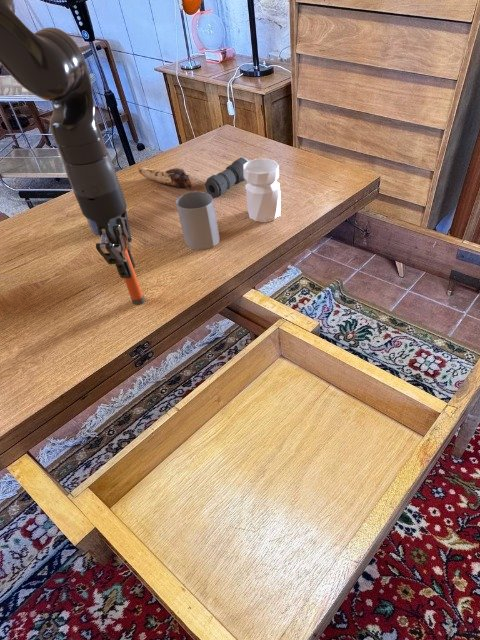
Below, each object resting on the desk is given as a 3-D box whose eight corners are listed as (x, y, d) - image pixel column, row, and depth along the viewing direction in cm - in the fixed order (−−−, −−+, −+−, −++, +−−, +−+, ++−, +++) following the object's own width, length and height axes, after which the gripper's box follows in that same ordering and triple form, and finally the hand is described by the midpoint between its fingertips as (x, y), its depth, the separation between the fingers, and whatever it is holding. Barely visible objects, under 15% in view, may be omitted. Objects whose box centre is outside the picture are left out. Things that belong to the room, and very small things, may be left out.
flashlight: (220, 201, 120) (216, 181, 116) (205, 196, 122) (201, 176, 118) (253, 178, 128) (251, 159, 124) (238, 174, 130) (236, 155, 126)
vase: (279, 222, 112) (277, 174, 103) (246, 222, 113) (240, 173, 103) (282, 205, 118) (280, 158, 109) (250, 205, 118) (245, 158, 109)
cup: (182, 235, 109) (172, 195, 101) (214, 228, 111) (207, 188, 103) (189, 253, 104) (180, 212, 96) (223, 245, 106) (216, 204, 98)
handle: (131, 305, 92) (111, 253, 83) (133, 297, 94) (114, 246, 84) (143, 304, 92) (125, 253, 83) (146, 296, 94) (128, 245, 84)
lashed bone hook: (204, 181, 129) (155, 169, 134) (202, 164, 125) (151, 152, 130) (185, 194, 123) (134, 180, 128) (182, 177, 120) (130, 163, 125)
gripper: (84, 167, 78) (117, 253, 92) (60, 205, 70) (100, 295, 83) (126, 165, 79) (153, 252, 92) (108, 203, 70) (140, 293, 83)
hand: (128, 272), depth 87 cm, fingers closed on handle, 2 cm apart
